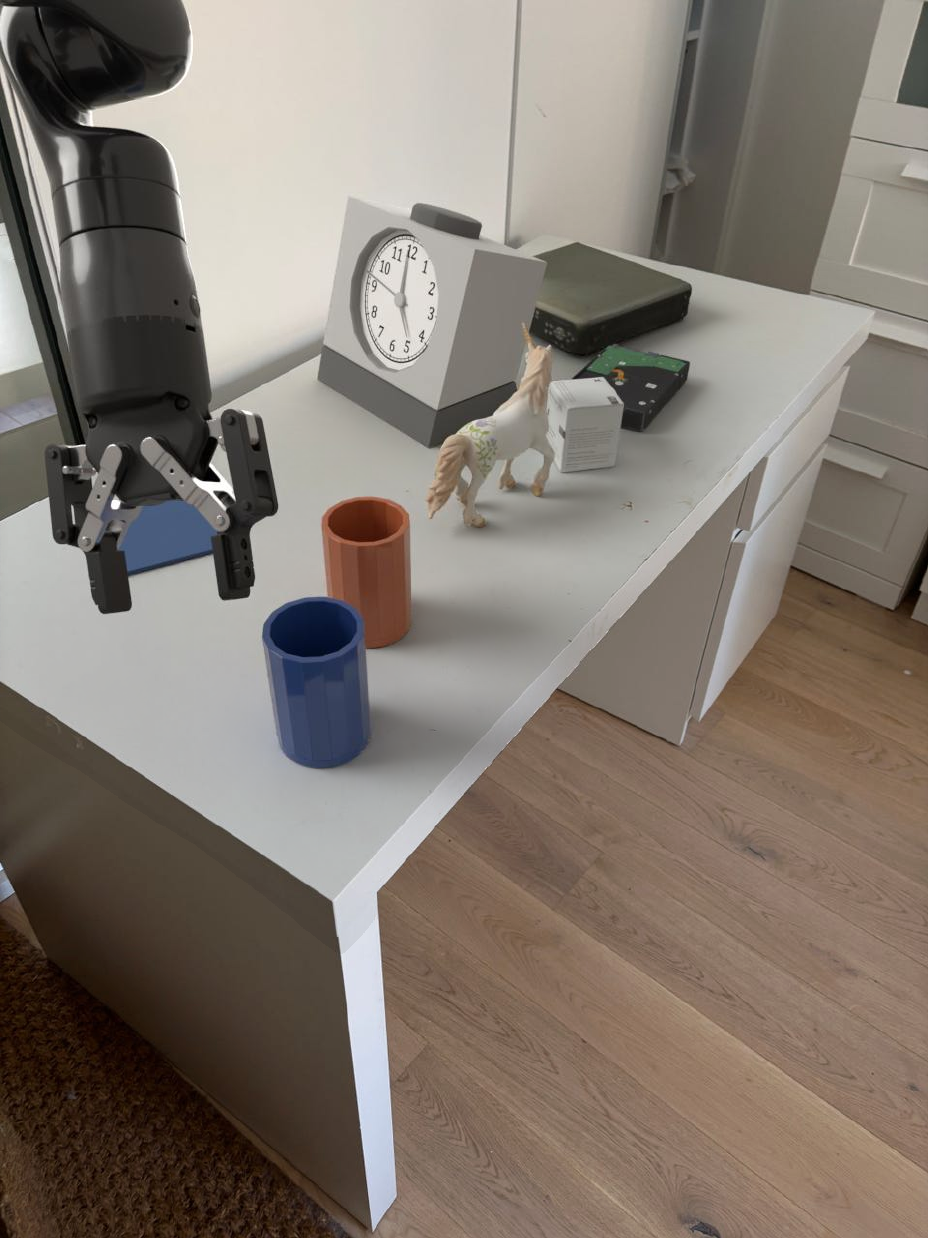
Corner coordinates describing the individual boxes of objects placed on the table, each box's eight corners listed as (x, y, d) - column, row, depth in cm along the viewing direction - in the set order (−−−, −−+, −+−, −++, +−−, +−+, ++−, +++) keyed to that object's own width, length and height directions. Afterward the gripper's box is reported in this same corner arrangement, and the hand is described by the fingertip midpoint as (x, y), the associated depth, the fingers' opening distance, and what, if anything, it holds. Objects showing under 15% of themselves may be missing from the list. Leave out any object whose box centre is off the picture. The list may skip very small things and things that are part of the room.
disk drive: (643, 436, 104) (687, 381, 114) (647, 413, 102) (691, 359, 112) (555, 413, 108) (606, 361, 118) (557, 390, 106) (608, 339, 116)
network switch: (699, 313, 130) (706, 276, 126) (600, 370, 116) (605, 330, 113) (559, 269, 141) (562, 234, 138) (453, 316, 127) (454, 278, 124)
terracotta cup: (349, 658, 76) (341, 554, 69) (318, 610, 80) (308, 508, 74) (424, 633, 78) (424, 531, 72) (391, 588, 83) (387, 488, 76)
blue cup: (297, 781, 66) (282, 674, 60) (265, 719, 70) (248, 613, 64) (385, 748, 68) (380, 642, 62) (349, 690, 73) (341, 586, 66)
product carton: (541, 444, 102) (547, 380, 97) (596, 438, 103) (603, 374, 98) (560, 474, 97) (567, 408, 93) (616, 467, 99) (626, 401, 94)
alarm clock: (317, 378, 113) (302, 196, 100) (422, 343, 121) (421, 170, 108) (428, 448, 101) (427, 252, 88) (536, 403, 109) (550, 218, 96)
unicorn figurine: (577, 461, 99) (591, 337, 91) (489, 558, 86) (496, 424, 78) (515, 443, 102) (522, 321, 93) (420, 534, 89) (419, 402, 80)
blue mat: (119, 577, 83) (118, 574, 83) (94, 518, 90) (93, 515, 89) (232, 547, 87) (231, 544, 86) (200, 493, 93) (200, 490, 93)
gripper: (-10, 341, 55) (32, 624, 56) (198, 287, 50) (241, 599, 51) (84, 360, 62) (120, 612, 63) (275, 315, 57) (312, 589, 58)
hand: (174, 606), depth 57 cm, fingers open, 8 cm apart
